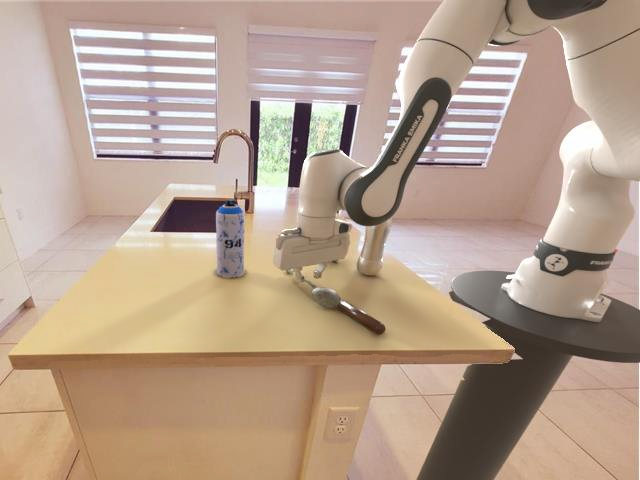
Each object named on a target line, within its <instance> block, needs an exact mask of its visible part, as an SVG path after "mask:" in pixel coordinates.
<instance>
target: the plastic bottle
mask: <svg viewBox="0 0 640 480" xmlns="http://www.w3.org/2000/svg"><path fill="white" fill-rule="evenodd" d="M364 227H365V231H364V238H363V243H362V244H363V245H362V248H361V252H360V254H359V257H358V258H357V262H356V270H357V272H359V273H360V274H362V275H365V276H377V275H378V274H379V273H380V272H381V270H382V268H383V257H384V251H385V246H386V243H387V240H388V237H389V235H390V232H391V229H392V227H393V218H392V217H391V218H390V219H388V220H387V221H385V222H384V223H381V224H379V225H376V226H364Z"/></svg>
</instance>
